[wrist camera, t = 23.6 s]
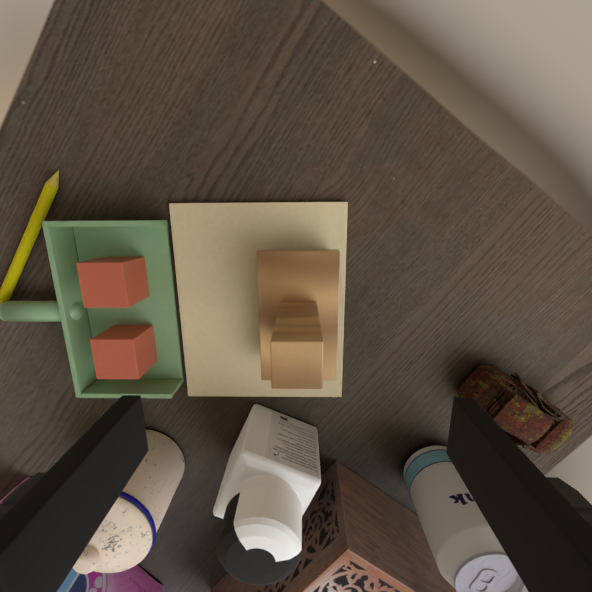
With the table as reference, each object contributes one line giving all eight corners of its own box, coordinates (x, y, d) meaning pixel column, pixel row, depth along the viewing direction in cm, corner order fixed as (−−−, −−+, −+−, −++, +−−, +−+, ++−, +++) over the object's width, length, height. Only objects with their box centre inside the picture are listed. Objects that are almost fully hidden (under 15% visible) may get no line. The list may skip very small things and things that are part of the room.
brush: (261, 247, 30) (234, 268, 18) (335, 246, 30) (358, 267, 18) (265, 363, 33) (244, 449, 21) (333, 363, 33) (351, 450, 21)
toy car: (438, 399, 34) (460, 429, 30) (482, 349, 33) (512, 372, 28) (522, 452, 36) (556, 488, 31) (567, 406, 34) (610, 437, 30)
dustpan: (167, 219, 30) (151, 220, 27) (184, 381, 34) (171, 398, 31) (-3, 221, 31) (-40, 221, 27) (34, 380, 35) (6, 397, 32)
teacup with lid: (117, 416, 36) (32, 509, 24) (196, 438, 36) (147, 540, 25) (100, 498, 39) (16, 615, 27) (173, 518, 39) (120, 641, 28)
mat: (171, 203, 30) (168, 203, 29) (346, 201, 30) (347, 201, 29) (189, 393, 35) (187, 396, 34) (341, 394, 34) (341, 397, 34)
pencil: (5, 316, 33) (-4, 319, 32) (-4, 311, 33) (-14, 314, 32) (67, 174, 29) (59, 172, 28) (57, 167, 29) (49, 166, 28)
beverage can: (471, 449, 36) (553, 561, 24) (445, 496, 37) (510, 622, 26) (415, 431, 35) (470, 537, 24) (391, 480, 37) (431, 601, 25)
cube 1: (114, 324, 33) (89, 339, 29) (153, 324, 32) (133, 339, 29) (120, 360, 34) (96, 379, 30) (157, 360, 33) (138, 379, 30)
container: (290, 478, 37) (284, 613, 25) (229, 455, 37) (190, 580, 24) (318, 426, 36) (327, 543, 23) (254, 401, 35) (227, 506, 22)
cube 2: (104, 256, 31) (75, 262, 27) (144, 256, 31) (122, 262, 27) (110, 296, 32) (83, 307, 28) (149, 296, 32) (128, 307, 28)
